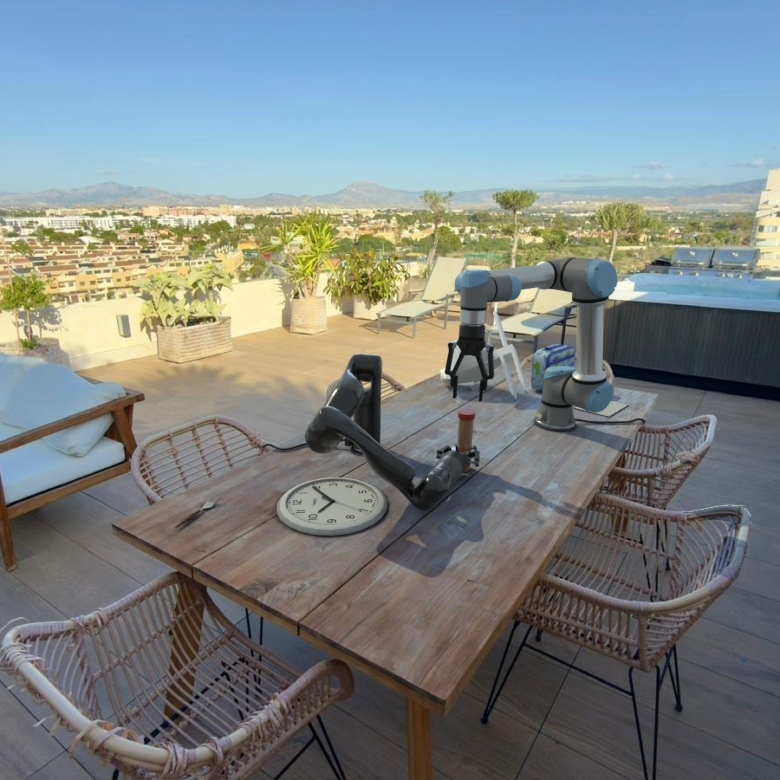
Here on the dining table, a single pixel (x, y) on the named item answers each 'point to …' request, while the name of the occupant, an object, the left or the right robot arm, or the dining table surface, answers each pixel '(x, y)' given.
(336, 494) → the wall clock
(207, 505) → the fork
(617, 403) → the invitation card
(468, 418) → the lid
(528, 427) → the dining table surface
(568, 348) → the lunch box
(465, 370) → the white plastic object
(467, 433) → the wooden cylinder
